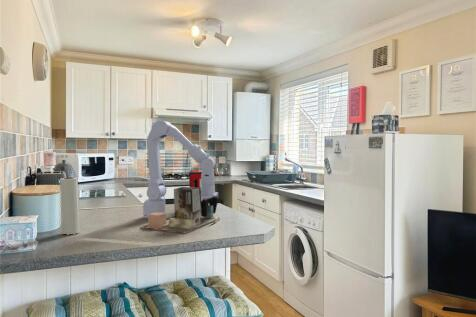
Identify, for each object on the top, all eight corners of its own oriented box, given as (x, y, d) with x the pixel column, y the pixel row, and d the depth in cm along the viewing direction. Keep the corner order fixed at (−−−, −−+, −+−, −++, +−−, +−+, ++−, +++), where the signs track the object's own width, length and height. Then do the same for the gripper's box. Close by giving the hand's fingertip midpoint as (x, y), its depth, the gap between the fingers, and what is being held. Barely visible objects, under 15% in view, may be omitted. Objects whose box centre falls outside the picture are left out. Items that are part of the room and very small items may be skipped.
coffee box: (202, 227, 138) (201, 187, 137) (193, 231, 132) (192, 189, 132) (183, 225, 142) (182, 186, 141) (174, 228, 136) (173, 188, 136)
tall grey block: (68, 236, 127) (65, 178, 126) (58, 234, 130) (56, 178, 129) (85, 232, 133) (83, 177, 132) (76, 230, 136) (74, 176, 135)
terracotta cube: (148, 227, 135) (148, 214, 135) (154, 224, 140) (154, 212, 139) (159, 228, 133) (159, 215, 133) (166, 225, 138) (165, 212, 138)
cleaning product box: (208, 213, 165) (208, 172, 164) (190, 214, 164) (189, 172, 163) (208, 207, 181) (207, 169, 180) (191, 208, 180) (190, 170, 179)
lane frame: (140, 231, 133) (139, 215, 133) (174, 219, 154) (174, 205, 153) (185, 236, 124) (185, 220, 124) (216, 223, 144) (215, 209, 144)
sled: (169, 228, 136) (169, 213, 136) (198, 217, 155) (198, 204, 155) (194, 231, 131) (193, 215, 131) (220, 219, 150) (220, 206, 150)
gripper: (207, 186, 143) (207, 219, 144) (223, 182, 156) (224, 212, 157) (192, 186, 146) (193, 217, 147) (210, 182, 159) (210, 211, 160)
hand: (208, 214), depth 152 cm, fingers open, 7 cm apart
